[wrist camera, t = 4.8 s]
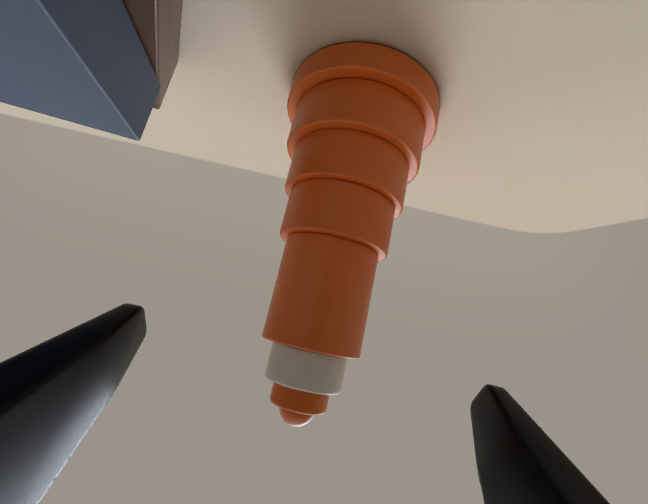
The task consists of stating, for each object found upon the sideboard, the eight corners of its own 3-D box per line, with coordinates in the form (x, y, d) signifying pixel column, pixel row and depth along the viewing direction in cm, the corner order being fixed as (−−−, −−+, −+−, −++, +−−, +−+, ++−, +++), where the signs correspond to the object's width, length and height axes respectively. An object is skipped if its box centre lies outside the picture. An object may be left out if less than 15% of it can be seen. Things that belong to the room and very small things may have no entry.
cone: (265, 90, 14) (171, 393, 11) (375, 3, 9) (264, 486, 6) (357, 159, 17) (305, 398, 15) (468, 122, 13) (424, 459, 10)
